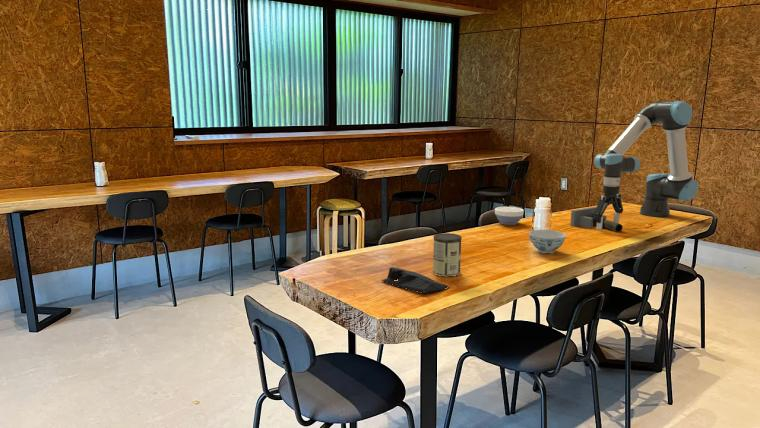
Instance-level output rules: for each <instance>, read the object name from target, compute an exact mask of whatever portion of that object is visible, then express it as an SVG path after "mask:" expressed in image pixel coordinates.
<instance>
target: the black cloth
mask: <svg viewBox="0 0 760 428" xmlns="http://www.w3.org/2000/svg"><path fill="white" fill-rule="evenodd" d="M388 269H389V270H388V274H387V276H386V278H385V279H382V280H381V281H385V282H388V283H390V284H393V285H396V286H399V287H398V288H400V287H404V288H403V289H405V288H407V289H406V290H408V289H410V290H409V291H411V290H414V291H418V292H422V293H421V294H423V293H424V294H428V292H429V293H433V291H434V292H438V291H437V290H440V291H444V290H443V289H445V288H447V287H448V286H449V285H447V284H445V283H441V282H437V281H435V280H434V279H432V278H431V277H428V276H425V275H423V274H421V273H418V272H415V271H412V270H406V269H403V268H398V267H389V268H388ZM397 279H398V281H394V280H397ZM388 283H387V284H388ZM390 284H389V285H390ZM393 285H392V286H393ZM396 286H395V287H396ZM414 291H413V292H414ZM418 292H417V293H418Z"/></svg>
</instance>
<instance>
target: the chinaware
mask: <svg viewBox="0 0 760 428" xmlns="http://www.w3.org/2000/svg"><path fill="white" fill-rule="evenodd" d="M566 236H567V235H566V233H564V232H562V231H557V230H552V229H534V230H531V231H529V232H528V237H529V240H530V242H531V244H532V245H533V247H535V249H537V251H538V252H539V253H542V254H546V253H551V254H554V253H555V251H556V250H558V249H560V248H561V247H562V246H563V244H564V243H565V241H566V240H565V239H566Z"/></svg>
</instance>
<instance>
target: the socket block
mask: <svg viewBox="0 0 760 428" xmlns="http://www.w3.org/2000/svg"><path fill="white" fill-rule="evenodd" d="M596 208H597V206H591V207H583V208H578V209H572V210H571V213H570V214H571V215H570V226H571V227H583V228H587V229H592V228H593V226H594V225H593V216H595V215H594V213H595V210H596ZM602 216H603V218H604V219H605V220H607V215H605V214H603V215H602Z"/></svg>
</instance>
